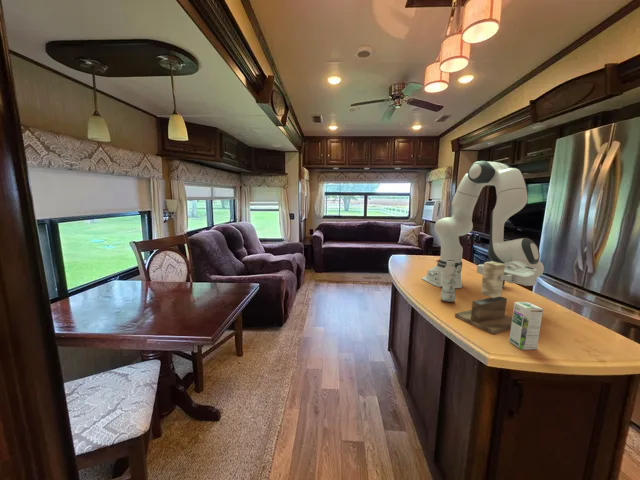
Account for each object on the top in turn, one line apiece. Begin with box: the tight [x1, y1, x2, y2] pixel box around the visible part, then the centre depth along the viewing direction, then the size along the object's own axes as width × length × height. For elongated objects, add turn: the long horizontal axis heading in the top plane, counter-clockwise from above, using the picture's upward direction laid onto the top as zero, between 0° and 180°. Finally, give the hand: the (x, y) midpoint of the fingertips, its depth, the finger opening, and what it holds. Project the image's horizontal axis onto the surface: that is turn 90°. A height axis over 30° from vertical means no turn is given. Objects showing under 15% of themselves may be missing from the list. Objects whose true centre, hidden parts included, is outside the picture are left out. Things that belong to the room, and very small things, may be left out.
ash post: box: [480, 261, 505, 298], centre depth 108 cm, size 5×5×13 cm
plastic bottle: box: [440, 260, 457, 303], centre depth 130 cm, size 6×7×20 cm
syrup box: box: [508, 301, 544, 351], centre depth 91 cm, size 6×6×14 cm
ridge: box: [454, 295, 512, 335], centre depth 110 cm, size 16×18×9 cm
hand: (491, 275), depth 107 cm, fingers closed on ash post, 5 cm apart
